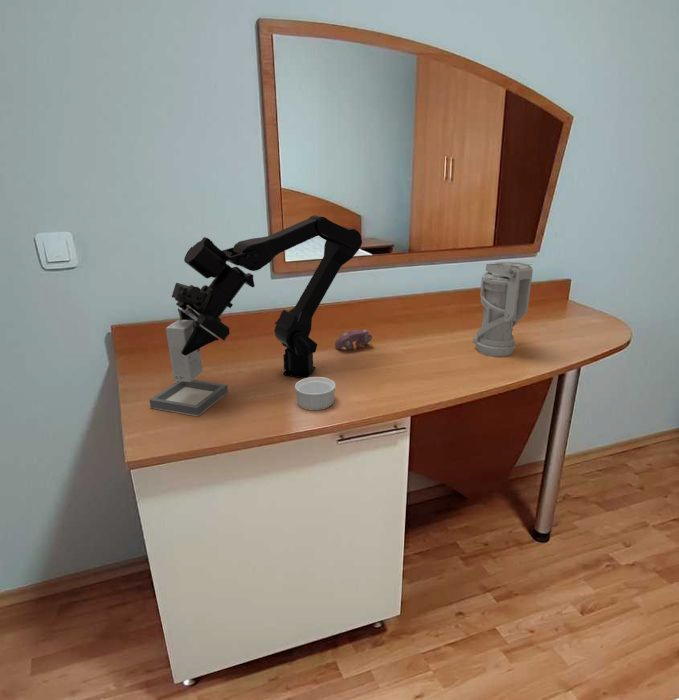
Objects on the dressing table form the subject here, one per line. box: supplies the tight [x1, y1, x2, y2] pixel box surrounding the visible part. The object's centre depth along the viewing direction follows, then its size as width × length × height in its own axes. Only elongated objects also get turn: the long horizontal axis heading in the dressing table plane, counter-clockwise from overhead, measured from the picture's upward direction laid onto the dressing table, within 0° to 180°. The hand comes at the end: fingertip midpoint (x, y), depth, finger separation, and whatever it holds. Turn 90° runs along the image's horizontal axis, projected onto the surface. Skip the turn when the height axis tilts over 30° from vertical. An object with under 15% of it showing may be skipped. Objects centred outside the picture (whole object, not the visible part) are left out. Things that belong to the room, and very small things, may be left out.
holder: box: [149, 379, 229, 417], centre depth 114 cm, size 12×12×2 cm
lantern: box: [472, 261, 534, 358], centre depth 136 cm, size 13×10×25 cm
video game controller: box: [334, 329, 373, 351], centre depth 143 cm, size 10×5×7 cm, turn 115°
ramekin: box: [294, 376, 336, 411], centre depth 113 cm, size 9×9×4 cm
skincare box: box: [165, 319, 203, 382], centre depth 111 cm, size 6×4×12 cm
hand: (178, 349), depth 110 cm, fingers closed on skincare box, 7 cm apart
